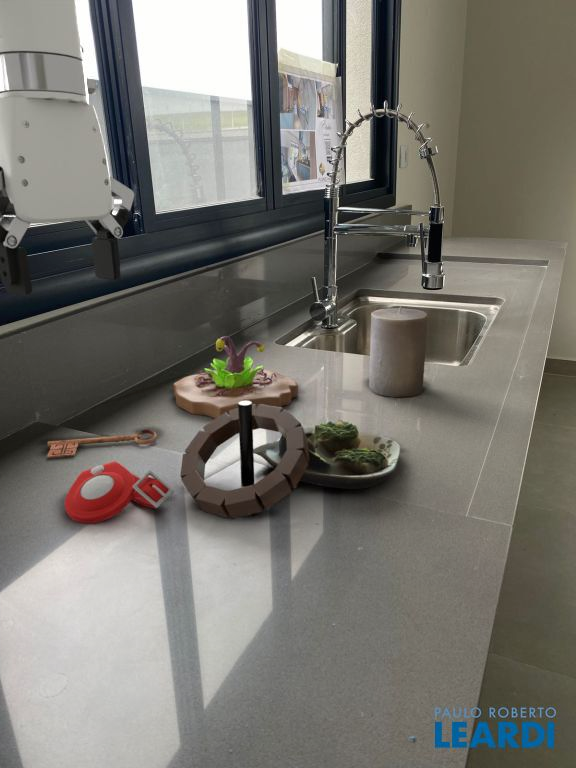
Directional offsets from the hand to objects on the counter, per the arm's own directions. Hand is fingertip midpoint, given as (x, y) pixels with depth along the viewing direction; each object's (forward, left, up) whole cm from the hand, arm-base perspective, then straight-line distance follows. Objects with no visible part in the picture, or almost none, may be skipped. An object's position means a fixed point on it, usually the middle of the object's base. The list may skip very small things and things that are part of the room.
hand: (66, 285), depth 57 cm
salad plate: (+13, +27, -26) cm, 39 cm away
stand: (+8, +16, -26) cm, 32 cm away
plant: (-15, +40, -26) cm, 50 cm away
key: (-17, +14, -26) cm, 34 cm away
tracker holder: (-2, +4, -26) cm, 27 cm away
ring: (+8, +16, -23) cm, 29 cm away
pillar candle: (+6, +60, -26) cm, 66 cm away
